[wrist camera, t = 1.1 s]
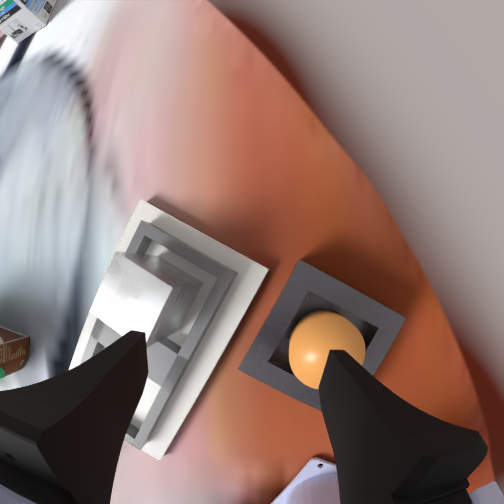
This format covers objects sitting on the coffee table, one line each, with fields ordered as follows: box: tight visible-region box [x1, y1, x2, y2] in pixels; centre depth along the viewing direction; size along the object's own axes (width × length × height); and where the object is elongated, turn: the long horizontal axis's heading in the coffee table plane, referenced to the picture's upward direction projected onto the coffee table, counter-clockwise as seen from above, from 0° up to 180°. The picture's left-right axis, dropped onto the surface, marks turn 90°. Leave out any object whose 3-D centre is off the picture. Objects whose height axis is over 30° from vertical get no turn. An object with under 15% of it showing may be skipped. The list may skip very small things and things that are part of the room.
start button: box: [289, 310, 365, 389], centre depth 18 cm, size 4×4×3 cm
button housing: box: [238, 259, 406, 411], centre depth 20 cm, size 8×8×3 cm
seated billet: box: [91, 251, 203, 347], centre depth 19 cm, size 4×4×6 cm
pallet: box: [69, 200, 269, 461], centre depth 22 cm, size 11×19×2 cm, turn 151°
